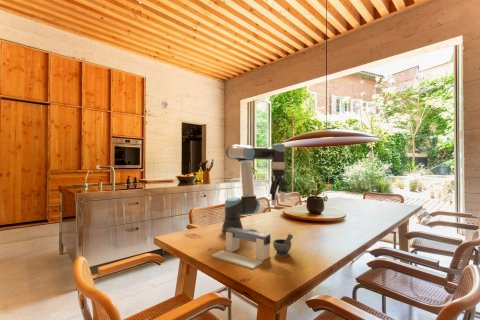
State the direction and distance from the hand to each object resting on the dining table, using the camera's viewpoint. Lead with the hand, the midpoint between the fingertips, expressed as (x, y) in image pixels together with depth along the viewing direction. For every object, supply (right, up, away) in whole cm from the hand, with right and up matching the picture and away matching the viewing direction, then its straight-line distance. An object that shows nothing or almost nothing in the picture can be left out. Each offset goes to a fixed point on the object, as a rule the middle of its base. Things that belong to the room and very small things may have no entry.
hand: (278, 203), depth 148 cm
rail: (-19, -17, -14) cm, 29 cm away
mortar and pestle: (0, -25, -16) cm, 30 cm away
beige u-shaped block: (-11, -25, -20) cm, 34 cm away
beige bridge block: (-28, -25, -9) cm, 38 cm away
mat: (-26, -25, -23) cm, 42 cm away
